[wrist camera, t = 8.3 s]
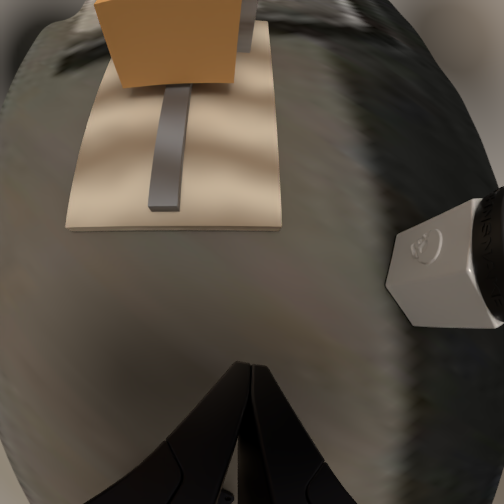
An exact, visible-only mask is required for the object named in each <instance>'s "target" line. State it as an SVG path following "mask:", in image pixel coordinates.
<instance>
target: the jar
mask: <svg viewBox="0 0 504 504" xmlns="http://www.w3.org/2000/svg"><path fill="white" fill-rule="evenodd" d="M385 286H386V288H387V289H388V291H389V292H390V293H391V295H392V296H393V298H394V299H395V300H396V302H397V303H398V305H399V306H400V308H401V309H402V310H403V312H404V313H405V315H406V316H407V318H408V319H409V321H410V322H411V324H412V325H413V326H420V327H442V328H497V327H499V326H501V325H502V324H504V186H503V187H501V188H499V189H497V190H495V191H493V192H492V193H490V194H489V195H487V196H486V197H484V198H478V199H471V200H469V201H467V202H465V203H463V204H461V205H459V206H457V207H455V208H453V209H450V210H448V211H446V212H444V213H442V214H440V215H438V216H436V217H434V218H431V219H429V220H427V221H425V222H423V223H421V224H418V225H416V226H414V227H412V228H410V229H407V230H405V231H403V232H401V233H399V234H397V236H396V240H395V245H394V250H393V255H392V259H391V264H390V268H389V272H388V276H387V280H386V284H385Z"/></svg>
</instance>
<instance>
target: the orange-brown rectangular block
mask: <svg viewBox="0 0 504 504" xmlns="http://www.w3.org/2000/svg"><path fill="white" fill-rule="evenodd" d="M241 4H242V0H97V1H96V2H95V3H94V7H95V10H96V13H97V16H98V19H99V22H100V25H101V28H102V31H103V34H104V37H105V40H106V43H107V46H108V49H109V52H110V54H111V57H112V60H113V63H114V65H115V68H116V71H117V74H118V76H119V79H120V82H121V84H122V87H123V88H131V87H141V86H151V85H164V84H183V83H234V75H235V64H236V53H237V43H238V32H239V23H240V13H241Z"/></svg>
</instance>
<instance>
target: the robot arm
mask: <svg viewBox="0 0 504 504" xmlns="http://www.w3.org/2000/svg"><path fill="white" fill-rule="evenodd" d="M237 438H238V504H357V503H356V502H355V501H354V499H353V498H352V497H351V496H350V495H349V493H348V492H347V491H346V490H345V489H344V487H343V486H342V485H341V483H340V482H339V480H338V479H337V478H336V476H335V475H334V473H333V472H332V470H331V469H330V467H329V466H328V464H327V463H326V462H324V461H325V460H324V458H323V457H322V455H321V454H320V452H319V450H318V449H317V447H316V446H315V444H314V443H313V441H312V439H311V438H310V436H309V435H308V433H307V431H306V430H305V428H304V427H303V425H302V423H301V422H300V420H299V419H298V417H297V415H296V414H295V412H294V410H293V409H292V407H291V406H290V404H289V402H288V401H287V399H286V397H285V396H284V394H283V392H282V391H281V389H280V387H279V386H278V384H277V382H276V380H275V379H274V377H273V375H272V374H271V372H270V370H269V369H268V367H267V366H264V365H257V364H252V365H250V364H249V363H245V362H240V361H236V362H234V363H233V364H232V366H231V367H230V368H229V369H228V370H227V371H226V373H225V374H224V375H223V376H222V377H221V378H220V380H219V381H218V382H217V383H216V384H215V385H214V387H213V388H212V389H211V390H210V391H209V392H208V393H207V394H206V396H205V397H204V398H203V399H202V400H201V401H200V402H199V403H198V405H197V406H196V407H195V408H194V409H193V410H192V411H191V412H190V413H189V415H188V416H187V417H186V418H185V419H184V420H183V421H182V422H181V423H180V424H179V425H178V427H177V428H176V429H175V430H174V431H173V432H172V433H171V434H170V435H169V436H168V437H167V438H166V441H163V442H162V443H161V444H160V445H159V446H158V447H157V448H156V449H155V450H154V451H153V452H152V453H151V454H150V455H149V456H148V457H147V458H146V459H145V460H144V461H143V462H142V463H141V464H140V465H138V466H137V467H136V468H134V469H133V470H132V471H131V472H129V473H128V474H127V475H125V476H124V477H123V478H121V479H120V480H119V481H117V482H116V483H114V484H113V485H111V486H110V487H108V488H107V489H105V490H104V491H102V492H101V493H99V494H98V495H96V496H95V497H93V498H92V499H90V500H88V501H87V502H85V503H84V504H231V503H232V502H233V501H234V495H233V494H232V493H230V492H228V491H225V490H223V489H222V486H223V483H224V480H225V477H226V474H227V471H228V468H229V464H230V461H231V458H232V455H233V452H234V448H235V445H236V442H237ZM226 497H230V498H226Z"/></svg>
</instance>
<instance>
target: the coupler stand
mask: <svg viewBox="0 0 504 504" xmlns="http://www.w3.org/2000/svg"><path fill="white" fill-rule="evenodd" d="M257 4H258V0H242V4H241V13H240V23H239V32H238V43H237V53H236V64H235V75H234V83H183V84H164V85H151V86H141V87H131V88H123V87H122V84H121V82H120V79H119V76H118V74H117V71H116V68H115V65H114V63H113V60H112V57H111V60H110V62H109V65H108V67H107V69H106V72H105V74H104V77H103V79H102V82H101V85H100V87H99V90H98V93H97V96H96V99H95V101H94V104H93V107H92V110H91V114H90V117H89V120H88V123H87V127H86V130H85V134H84V137H83V141H82V145H81V148H80V152H79V156H78V161H77V165H76V169H75V174H74V179H73V184H72V189H71V194H70V200H69V206H68V212H67V219H66V226H65V228H67V229H69V230H70V231H72V232H74V231H134V230H238V231H279V230H280V229H281V227H282V215H281V193H280V174H279V156H278V140H277V125H276V111H275V98H274V85H273V73H272V62H271V51H270V40H269V30H268V22H267V21H255V17H256V10H257Z"/></svg>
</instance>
